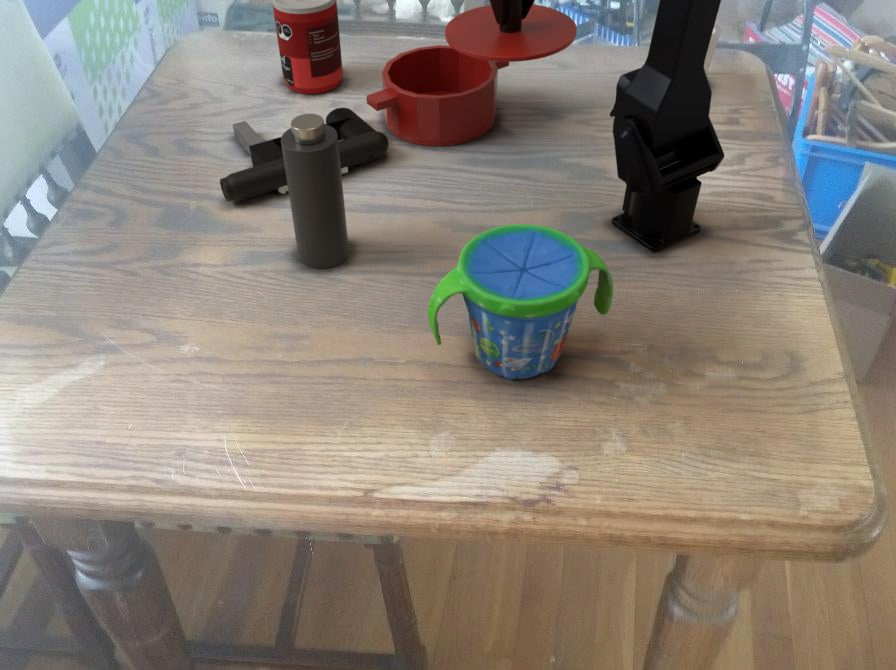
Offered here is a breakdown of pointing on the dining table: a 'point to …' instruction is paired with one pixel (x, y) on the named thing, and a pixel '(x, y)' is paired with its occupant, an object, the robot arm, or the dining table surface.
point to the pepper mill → (315, 191)
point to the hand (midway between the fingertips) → (511, 21)
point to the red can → (309, 44)
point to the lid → (511, 33)
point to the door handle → (269, 160)
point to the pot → (438, 96)
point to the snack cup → (521, 295)
